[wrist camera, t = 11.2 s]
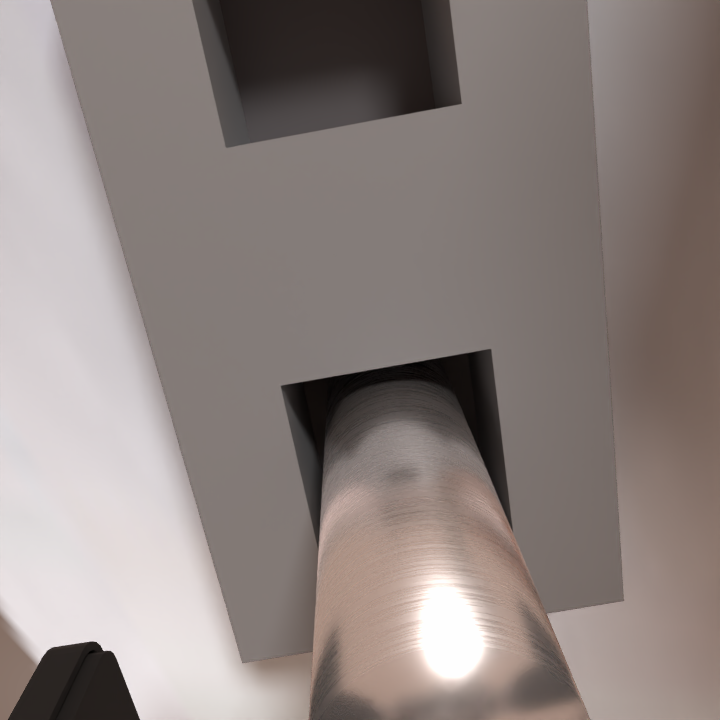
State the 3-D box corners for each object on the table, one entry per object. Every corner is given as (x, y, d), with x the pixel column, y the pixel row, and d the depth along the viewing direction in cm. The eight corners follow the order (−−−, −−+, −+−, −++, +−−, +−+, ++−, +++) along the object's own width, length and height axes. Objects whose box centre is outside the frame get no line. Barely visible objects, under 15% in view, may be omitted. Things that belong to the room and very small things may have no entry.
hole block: (496, -244, 16) (562, -403, 11) (563, 500, 22) (623, 601, 18) (77, -161, 16) (-31, -279, 11) (262, 550, 23) (242, 663, 18)
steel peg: (442, 327, 19) (585, 623, 8) (458, 441, 20) (602, 841, 9) (316, 350, 19) (278, 672, 8) (339, 462, 21) (336, 881, 9)
